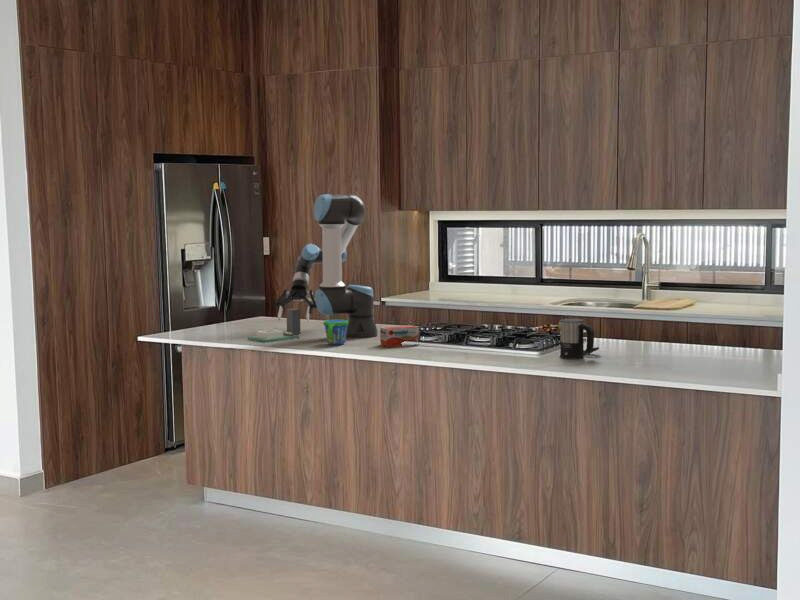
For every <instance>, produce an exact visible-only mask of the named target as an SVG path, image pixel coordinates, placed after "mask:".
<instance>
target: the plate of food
mask: <svg viewBox="0 0 800 600" xmlns="http://www.w3.org/2000/svg"><path fill="white" fill-rule="evenodd" d="M534 328H537V329H538V330H541V331H550V330H553V331H560V322H558V325H556V324H555V325H554V324H550V323H546V324H544V323H543V324H541V326H536V327H534ZM584 333H587V332H586V330H584V329H583V334H584Z"/></svg>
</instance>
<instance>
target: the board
mask: <svg viewBox="0 0 800 600" xmlns="http://www.w3.org/2000/svg"><path fill="white" fill-rule="evenodd" d="M294 338H298V339H300V335H294V334H292V333H291V334H290V332H289V334H288V332H287V331H283V330H278V329H265V330H257V331H256V335H252V336H248V337H247V339H251V340H250V341H254V340H256V341H255V342H259V341H262V342H261V343H265V342H267V343H272V342H271V341H275V342H280V341H279V340H283V341H287V340H286V339H291V340H295V339H294Z"/></svg>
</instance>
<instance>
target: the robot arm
mask: <svg viewBox="0 0 800 600" xmlns="http://www.w3.org/2000/svg"><path fill="white" fill-rule="evenodd" d="M366 215H367V213H366V205H365V203H364V202H363V200H362V199H361V197H358V196H357V195H356V194H353V193H352V194H351V193H325V194H320V195H319V196H317V198H316V200H315V202H314V206H313V216H314V219H315V221H317V222H318V225H319V226H320V228H321V233H322V234H321V235H322V236H321V237H322V238H321V239H322V240H321V243H322V245H321V246H322V247H318V246H317V245H316V244H314V243H308V244H306V245H305V246H304V247H303V249H302V250H301V254H300V256H298V257H297V260H296V264H295V265H296V266H295V269H294V270H295V272H294V274H293V279H292V284H291V289H290V290H287V289H284V290H283V292H282V294H281V295H280V296H279V297H278V299H277V300H276V301H275V302H274V307H275V309H276V313H277V320H278V321H281V319H282V315H283V314H282V313H283V310H284V309H283V308H284V307H285V306H286V305H287V304H289V303H290V302H293V301H297V300H298V301H301V300H303V302H304V303H305V304H306V305H307V310H306V314H305V318H306V321H309V320H310V315H312V314H313V311H314V310H313V309H317V311H318V312H319V313H320V314H321V315H322V316H334V315H348V316H347V318H348V319H347V321H348V325H347V332H346V337H347V338H353V339H354V338H356V339H357V338H358V339H359V338H373V337H377V336H378V335H379V334H378V333H379V332H378V331H379V330H378V328H377V325H376V321H375V319H374V314H375V313H374V305H375V304H374V299H375V296H374V289H373V287H371V286H364V285H358V284H357V285H356V284H348V285H347V287H346V284H345V283H344V282H343V265H342V263H344V262H345V261H346V260H347V256H348V254H347V247H348V245H349V243H350V241H351V240H352V237H353V236H354V234H355V233H356V231H357V229H358V226H360V225H361V224H363V222H364V220H365V218H366ZM315 264H322V282H321V283H320V284H319V289H317V290H316V291H315V294H314V293H313V290H312V289H310V290H308V286H309V282H310V277H311V273H312V269H313V267H314V266H315ZM307 295H308V296H309V297H310V300H311V301H310V300H309V299H308V298H307Z"/></svg>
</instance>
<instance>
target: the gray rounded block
mask: <svg viewBox="0 0 800 600" xmlns="http://www.w3.org/2000/svg"><path fill="white" fill-rule="evenodd" d="M285 312H286V333H287V332H288V334H289V332H290V334H291V333H292V334H294V335H297V336H300V335H299V334H301V309H300V308H286V311H285Z"/></svg>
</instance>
